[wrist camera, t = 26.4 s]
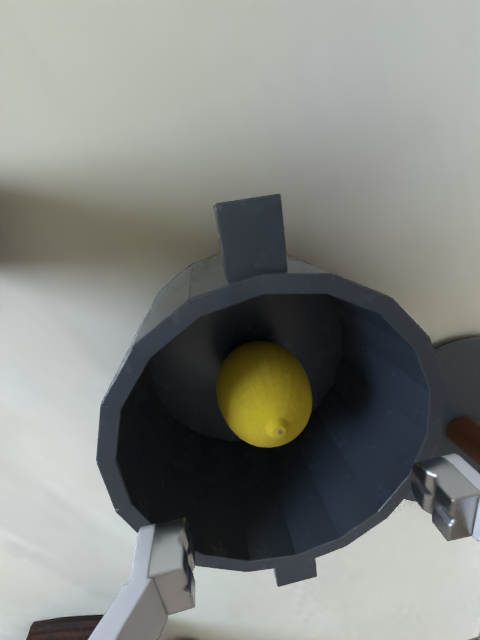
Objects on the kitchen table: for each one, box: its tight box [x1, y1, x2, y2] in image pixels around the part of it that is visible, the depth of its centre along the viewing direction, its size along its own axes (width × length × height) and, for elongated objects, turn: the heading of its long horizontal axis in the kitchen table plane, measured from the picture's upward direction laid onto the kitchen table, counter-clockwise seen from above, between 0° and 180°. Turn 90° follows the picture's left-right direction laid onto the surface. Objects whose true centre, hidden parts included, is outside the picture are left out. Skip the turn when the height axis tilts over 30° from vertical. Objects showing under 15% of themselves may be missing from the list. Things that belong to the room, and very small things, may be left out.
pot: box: [96, 194, 446, 587], centre depth 18 cm, size 16×21×10 cm
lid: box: [404, 337, 480, 502], centre depth 25 cm, size 17×17×5 cm
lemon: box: [216, 341, 312, 448], centre depth 18 cm, size 6×6×8 cm
